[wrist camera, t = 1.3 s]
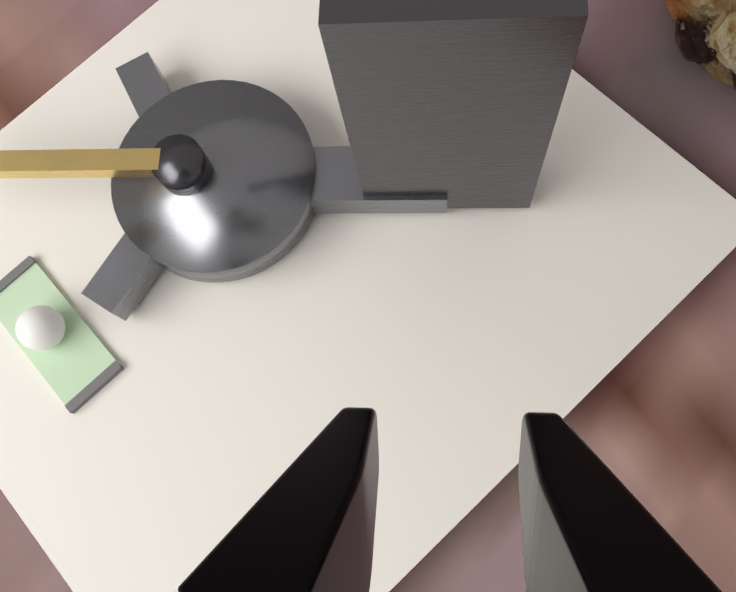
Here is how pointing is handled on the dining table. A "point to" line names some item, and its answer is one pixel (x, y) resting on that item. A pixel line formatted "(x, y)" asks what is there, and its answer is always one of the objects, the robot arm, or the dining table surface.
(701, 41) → the mottled green brown ball
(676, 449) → the dining table surface
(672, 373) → the dining table surface
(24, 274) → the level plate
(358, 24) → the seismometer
